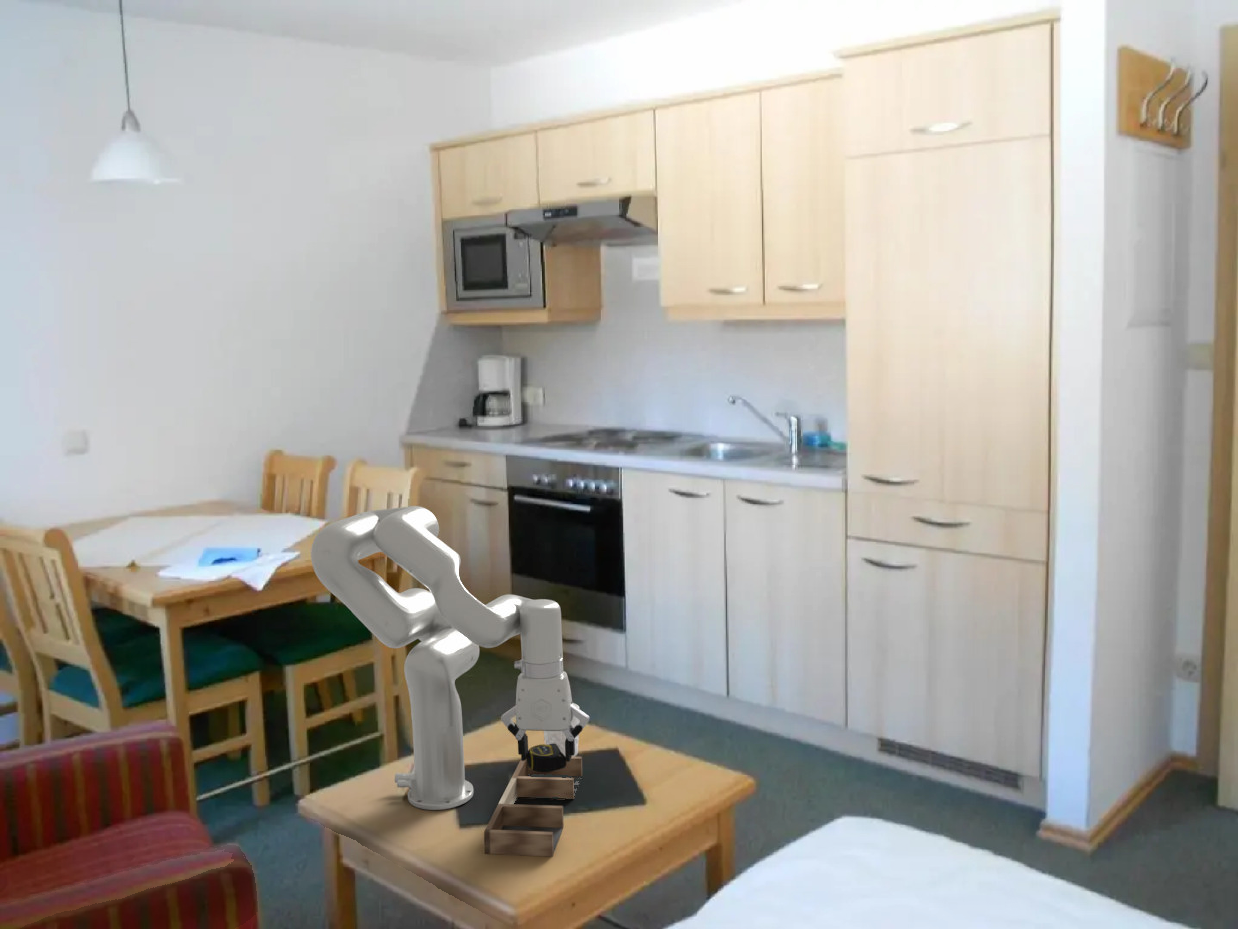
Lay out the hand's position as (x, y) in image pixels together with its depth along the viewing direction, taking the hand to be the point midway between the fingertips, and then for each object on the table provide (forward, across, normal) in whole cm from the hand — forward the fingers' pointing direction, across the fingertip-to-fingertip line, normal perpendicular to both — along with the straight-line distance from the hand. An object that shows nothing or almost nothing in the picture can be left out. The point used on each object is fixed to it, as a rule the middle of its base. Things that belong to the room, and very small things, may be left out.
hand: (546, 758), depth 212 cm
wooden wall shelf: (+11, -2, 0) cm, 11 cm away
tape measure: (+3, 0, +1) cm, 3 cm away
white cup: (+11, -2, +27) cm, 29 cm away
